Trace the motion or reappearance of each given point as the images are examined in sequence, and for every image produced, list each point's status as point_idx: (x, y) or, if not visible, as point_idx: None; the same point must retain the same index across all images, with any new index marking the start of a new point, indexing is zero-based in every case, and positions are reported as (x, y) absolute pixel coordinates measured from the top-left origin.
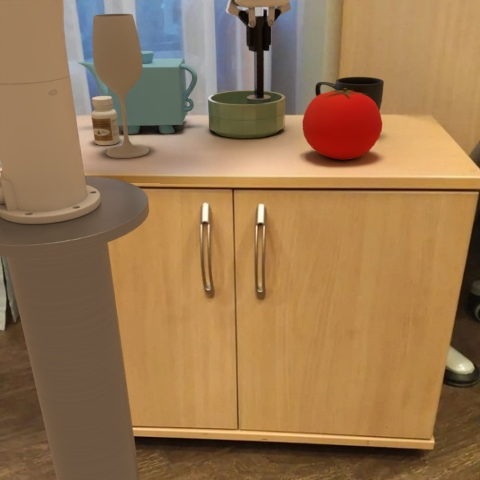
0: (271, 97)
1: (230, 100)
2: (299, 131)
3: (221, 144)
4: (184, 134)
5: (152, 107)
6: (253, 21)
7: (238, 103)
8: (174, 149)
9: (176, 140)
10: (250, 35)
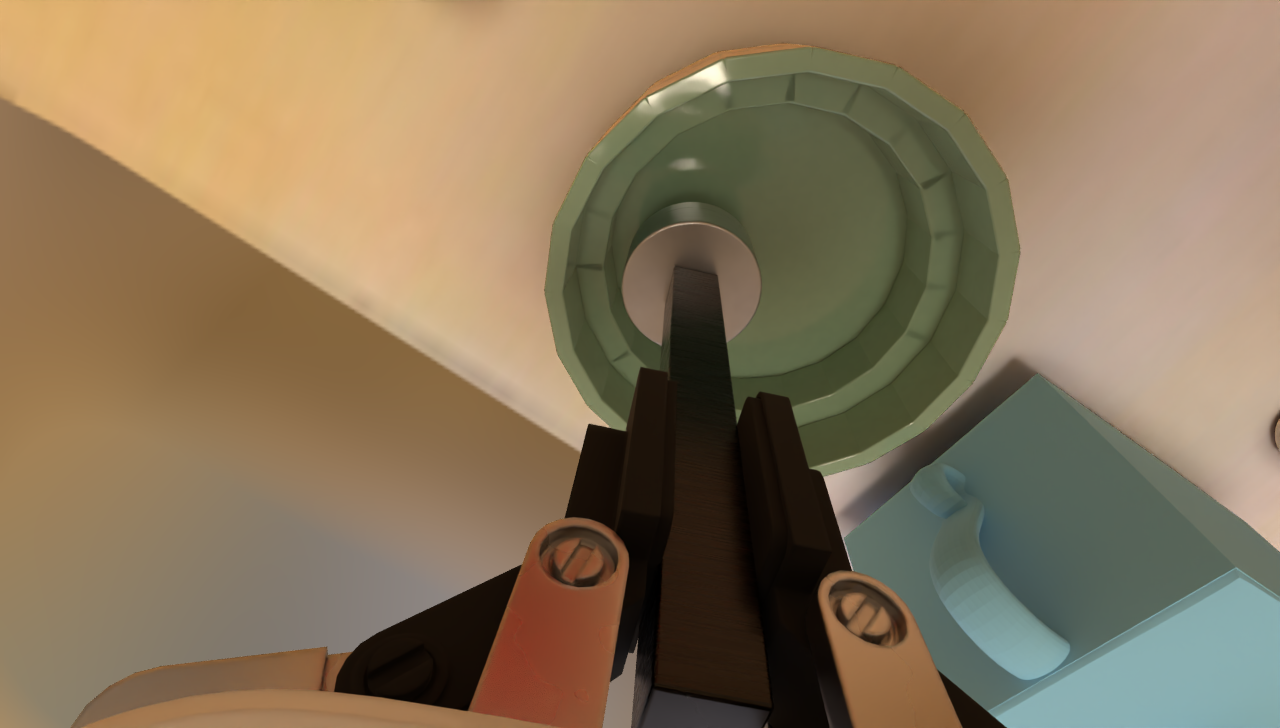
0: (575, 319)
1: None
2: (557, 60)
3: (1040, 80)
4: (1010, 348)
5: (1180, 486)
6: (845, 638)
7: None
8: (1268, 142)
9: (1118, 281)
10: (828, 531)
